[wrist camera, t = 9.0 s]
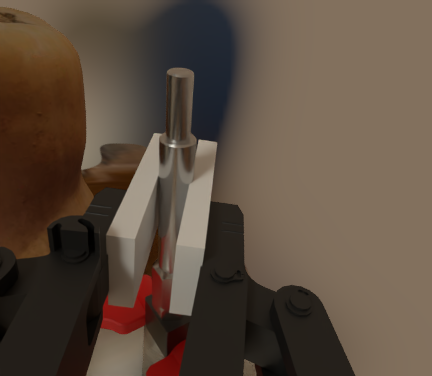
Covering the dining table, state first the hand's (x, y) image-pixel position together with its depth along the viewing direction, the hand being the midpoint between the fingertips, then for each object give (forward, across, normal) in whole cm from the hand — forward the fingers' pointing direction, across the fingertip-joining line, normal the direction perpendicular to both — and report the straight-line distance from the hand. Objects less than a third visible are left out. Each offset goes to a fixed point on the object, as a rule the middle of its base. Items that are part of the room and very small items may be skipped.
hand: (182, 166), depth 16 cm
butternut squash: (+10, -14, -22) cm, 28 cm away
